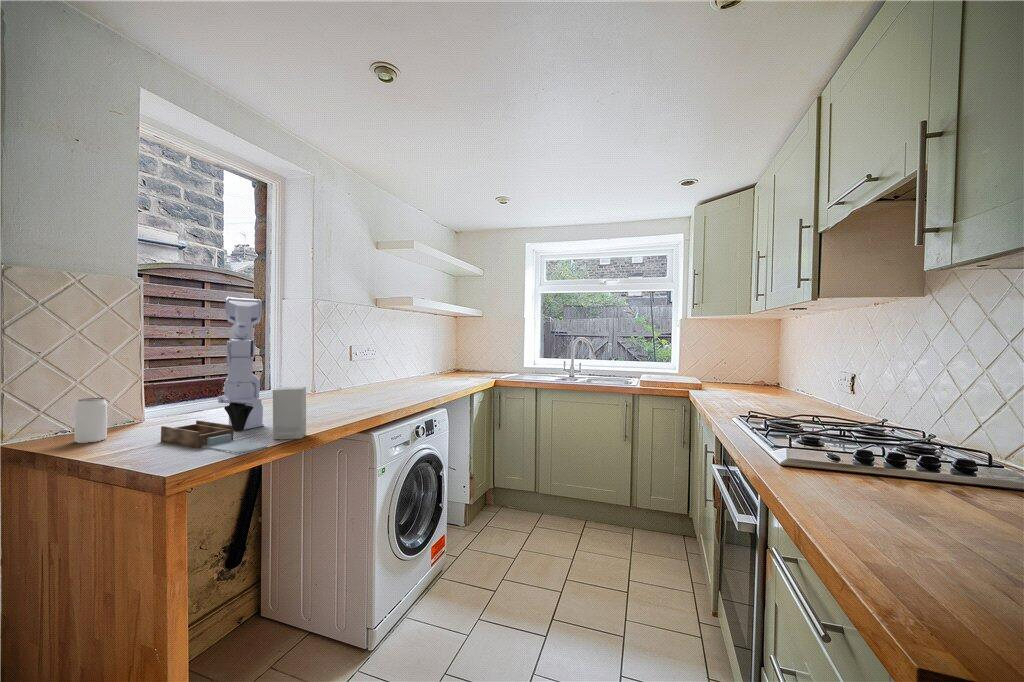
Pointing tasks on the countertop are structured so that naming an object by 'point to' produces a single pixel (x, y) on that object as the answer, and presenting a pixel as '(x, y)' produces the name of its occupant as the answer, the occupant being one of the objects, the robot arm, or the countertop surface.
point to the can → (90, 420)
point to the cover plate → (231, 444)
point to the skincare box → (289, 412)
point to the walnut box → (194, 433)
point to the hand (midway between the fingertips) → (238, 430)
